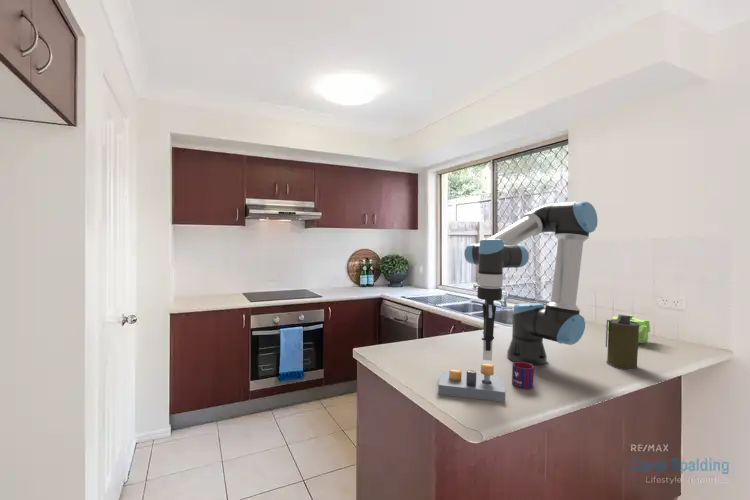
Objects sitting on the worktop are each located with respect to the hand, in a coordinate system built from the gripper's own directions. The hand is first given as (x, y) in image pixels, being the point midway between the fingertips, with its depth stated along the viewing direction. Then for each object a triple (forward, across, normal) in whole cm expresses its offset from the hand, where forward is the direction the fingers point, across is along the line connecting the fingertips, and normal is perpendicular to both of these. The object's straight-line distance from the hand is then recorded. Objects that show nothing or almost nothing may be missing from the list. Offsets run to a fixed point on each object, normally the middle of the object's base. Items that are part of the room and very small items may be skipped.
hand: (487, 359), depth 119 cm
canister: (+10, -41, +55) cm, 69 cm away
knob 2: (+7, 0, 0) cm, 7 cm away
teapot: (+10, -80, +74) cm, 109 cm away
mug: (+11, -10, +14) cm, 20 cm away
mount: (+11, 0, -5) cm, 12 cm away
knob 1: (+10, 0, -10) cm, 14 cm away
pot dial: (+8, +3, -5) cm, 10 cm away
